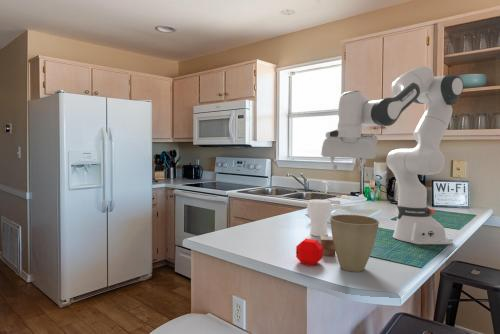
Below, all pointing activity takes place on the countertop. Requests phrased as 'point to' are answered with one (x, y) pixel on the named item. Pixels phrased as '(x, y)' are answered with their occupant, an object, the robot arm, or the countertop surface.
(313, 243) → the ball
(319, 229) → the cup
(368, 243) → the plant pot
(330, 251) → the walnut block
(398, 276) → the countertop surface
